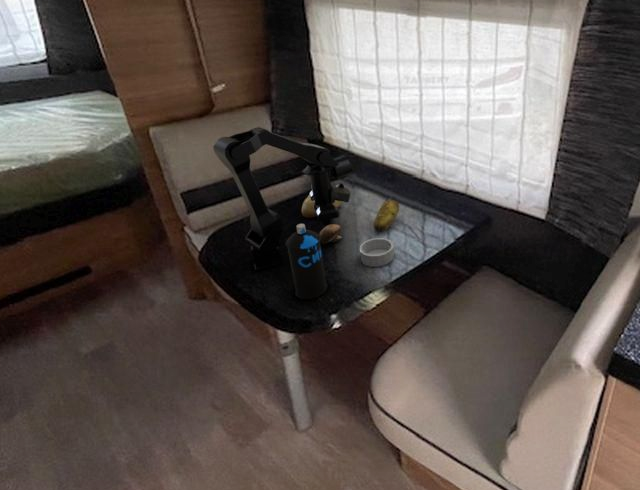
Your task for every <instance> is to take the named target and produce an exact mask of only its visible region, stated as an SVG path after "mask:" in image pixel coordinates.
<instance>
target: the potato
mask: <svg viewBox="0 0 640 490" xmlns="http://www.w3.org/2000/svg"><path fill="white" fill-rule="evenodd" d="M399 211H400V204H399V203H398V202H397V201H396V200H392V199H390V200H385V201H384V202H383V203H382V204H381V205H380V207H379V209H378V211H377V214H376V216H375V218H374V221H373V227H374V230H375V231H376V232H377V233H384V232H386V231H387V230H388V229H389V227H390V226H391V225H392V224H393V223H394V221H395V219H396V218H397V216H398V214H399Z"/></svg>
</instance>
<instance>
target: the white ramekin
mask: <svg viewBox="0 0 640 490" xmlns="http://www.w3.org/2000/svg"><path fill="white" fill-rule="evenodd" d="M394 245H395V244H394V243H393V240H390V239H389V238H385V237H374V238H369V239H368V240H366V241H363V242H362V243H361V244H360V245H359V249H358V250H359V251H358V252H359V259H360V261H361V263H362V264H363V265H364V266H367V267H369V268H380V267H383V266H386V265H388V264H390V263H391V262H392V261H393V259H394V258H395V246H394Z"/></svg>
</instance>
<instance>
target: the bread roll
mask: <svg viewBox="0 0 640 490" xmlns="http://www.w3.org/2000/svg"><path fill="white" fill-rule="evenodd" d="M341 203H342V201H336V200H335V203H333V205H334V206H336V207H337V208H339V207H340V205H341ZM314 205H315V203H314V201H311V198H310V194H309V195H308V196H307V197H306V198H305V199H304V201H303V202H302V206H301V214H302V216H303V217H304V218H308V219H311V218H316V217H317V215H316V212H315V209H314V207H313V206H314Z"/></svg>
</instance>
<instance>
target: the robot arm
mask: <svg viewBox="0 0 640 490" xmlns="http://www.w3.org/2000/svg"><path fill="white" fill-rule="evenodd" d="M266 145H267V146H270V147H274V148H276V149H279V150H281V151H285V152H288V153H291V154H293V155H296V156H298V157H299V158H300V159H303V160H304V161H306V162H308V163H311V164H313V166H310V165H306V167H305V168H304V169H303V170H302V174H304V175H307V176H309V177H310V178H309V179H310V182H311V183H310V184H311V185H310V188H311V191H310V192H309V195H310V198H311V201H314V203H315V205H314V206H313V207H314V209H315V212H316V215H317V216H316V217H317V220H318V221H319V222H321V223H322V224H323V226H324V227H325V226H327V225H330V222H331V220H334V219H338V218H340V211H339V208H338V207H336V206H334V205H333V203H335V200H336V201H341V202H344V203H349V201H350V198H351V194H352V193H351V191H350V189H349V188H348V187H345V185H344V183H343V182H338V183H337V184H336V185H334V186H332V183H331V179H332V180H338V179H341V178H343V177H347V176H349V175H351V174H352V173H353V166H352V165H351V162H350V161H349V159H348V157H347V156H346V155H344V154H341V155H339V156H336V157H334V158H333V157H332V156H331V152H330V150H329V149H328V148H326V147H323V146H320V145H318V144H314V143H309V142H299V141H296V140H293V139H290V138H288V137H286V136H282V135H280V134H277V133H274V132H272V131H271V130H268V129H266V128H263V127H260V126H257V127H254V128H252V129H250V130H246V131H242V132H239V133H235V134H232V135H230V136H221V137H219V138H217V139H216V141H215V142H214V145H213V147H212V149H213V152H214V154H215V155H216V156H217V158H218V159H219V160H220V162H221V163H222V164H223V165H224V166H225V167H226V168H227V169H228V170H229V172H230V174H231V175H232V177H233V180H234V182H235V184H236V186H237V188H238V190H239V192H240V195H241V197H242V198H243V200H244V203H245V205H246V207H247V209H248V211H249V213H250V218H249V222H250V227H251V229H250V230H249V231H248V232H247V235H246V236H245V238H244V239H245V241H246V243H248V244H249V245H251V246H250V247H251V249H250V250H251V253H252V259H253V263H254V270H255V271H261V270H266V269H269V268H273V267H277V266H280V264H281V262H280V261H281V252H280V248H279V245H280V239H281V236H282V234H283V233H284V230H283V227H284V226H285V225H284V224H283V222H282V221H281V217H280V214H278V213H277V212H276V211H273V210H271V209H270V208H268V207H267V204H266V201H265V199H264V198H263V194H262V192H261V191H260V189H259V186H258V184H257V182H256V179H255V177H254V175H253V172H252V170H251V155H254V154H255V153H257V152H258V151H259V150H260V149H261V148H262V147H263V146H266Z"/></svg>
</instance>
